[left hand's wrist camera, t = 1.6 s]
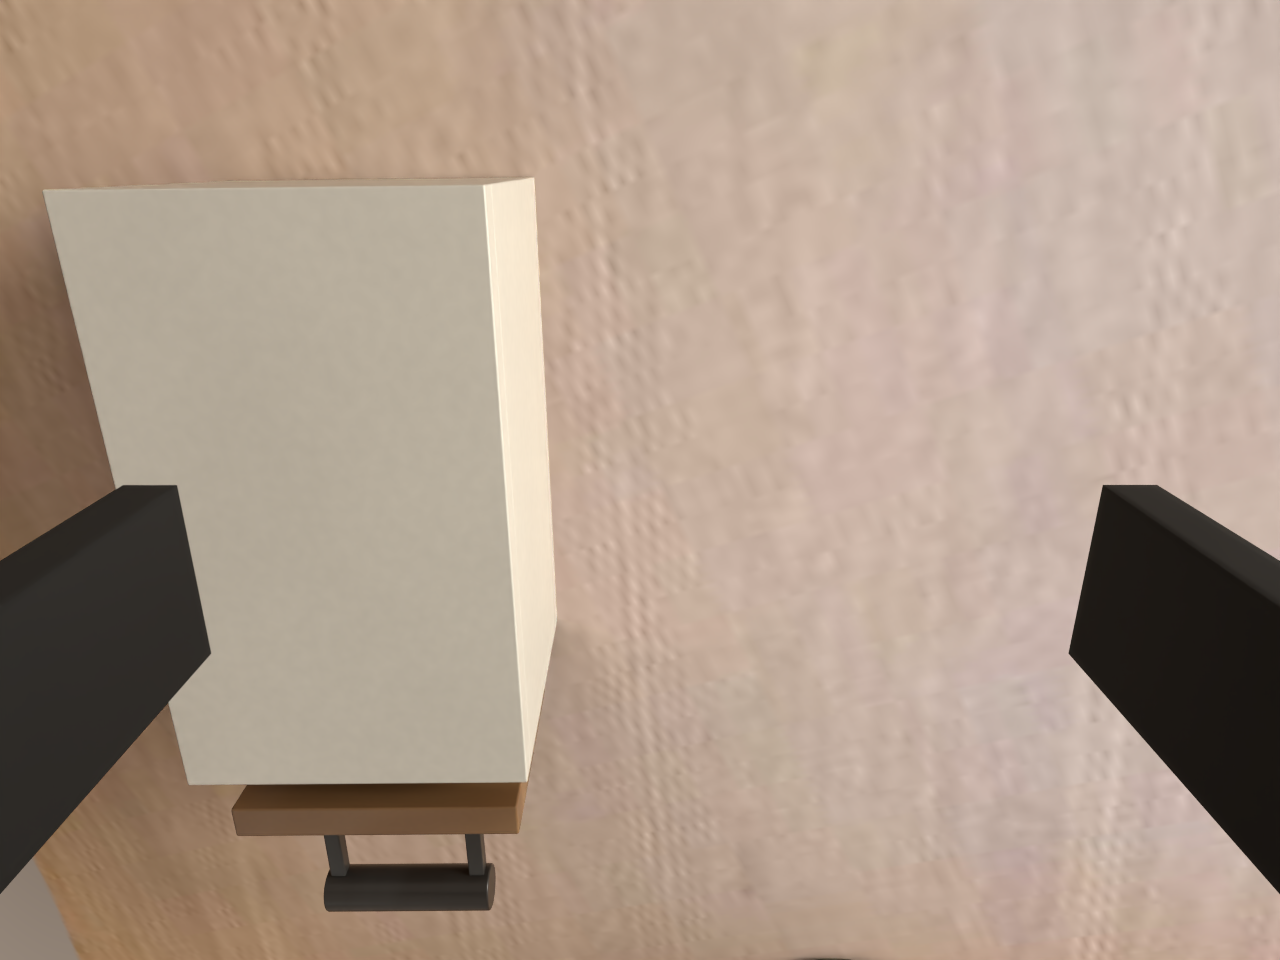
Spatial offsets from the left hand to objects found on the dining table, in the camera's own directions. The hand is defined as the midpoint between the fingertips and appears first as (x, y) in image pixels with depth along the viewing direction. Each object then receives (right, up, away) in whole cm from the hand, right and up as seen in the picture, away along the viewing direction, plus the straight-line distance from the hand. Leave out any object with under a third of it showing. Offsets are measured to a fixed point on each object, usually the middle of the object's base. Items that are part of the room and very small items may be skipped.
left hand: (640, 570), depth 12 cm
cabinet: (-9, +4, +22) cm, 24 cm away
